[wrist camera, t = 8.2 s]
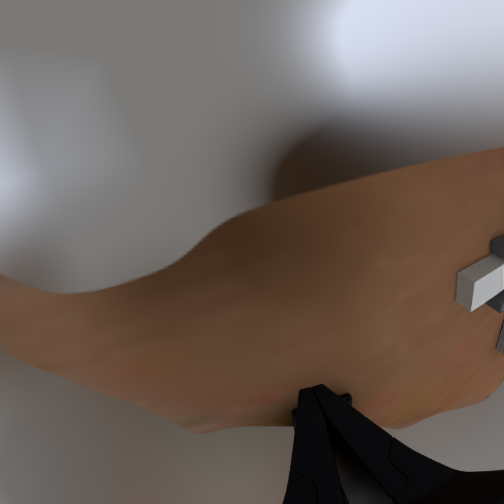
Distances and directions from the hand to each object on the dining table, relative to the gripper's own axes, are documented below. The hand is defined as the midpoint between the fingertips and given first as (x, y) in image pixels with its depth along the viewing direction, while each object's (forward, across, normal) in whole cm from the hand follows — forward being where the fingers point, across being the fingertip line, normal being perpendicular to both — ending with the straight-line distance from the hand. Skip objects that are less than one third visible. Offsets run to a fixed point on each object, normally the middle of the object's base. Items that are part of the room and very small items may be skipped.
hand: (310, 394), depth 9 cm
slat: (+12, -26, +6) cm, 30 cm away
